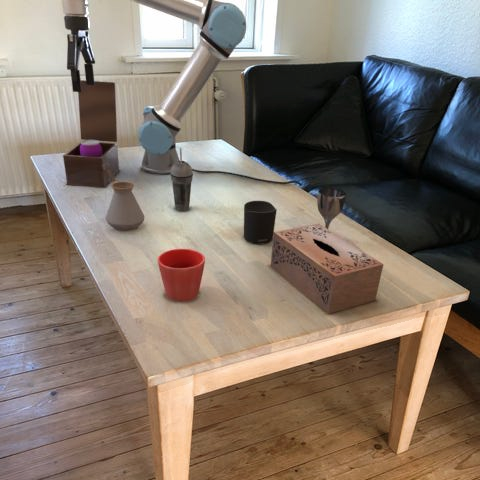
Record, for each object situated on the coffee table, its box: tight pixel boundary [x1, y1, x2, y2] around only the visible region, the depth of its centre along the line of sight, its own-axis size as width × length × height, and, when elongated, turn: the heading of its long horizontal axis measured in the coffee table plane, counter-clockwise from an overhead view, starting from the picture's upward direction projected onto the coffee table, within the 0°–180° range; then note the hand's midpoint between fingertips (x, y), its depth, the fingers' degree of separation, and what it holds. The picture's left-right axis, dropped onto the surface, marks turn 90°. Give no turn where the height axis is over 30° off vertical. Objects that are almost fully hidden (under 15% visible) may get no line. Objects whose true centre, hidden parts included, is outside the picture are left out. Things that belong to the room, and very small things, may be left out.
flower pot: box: [157, 248, 206, 303], centre depth 121 cm, size 11×11×10 cm
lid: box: [77, 79, 118, 143], centre depth 191 cm, size 20×14×7 cm
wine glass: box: [316, 186, 347, 230], centre depth 149 cm, size 8×8×15 cm
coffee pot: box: [102, 163, 145, 232], centre depth 154 cm, size 21×12×15 cm, turn 30°
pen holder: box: [243, 200, 278, 245], centre depth 150 cm, size 9×9×10 cm
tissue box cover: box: [270, 223, 384, 315], centre depth 129 cm, size 26×14×10 cm, turn 29°
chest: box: [62, 140, 120, 188], centre depth 187 cm, size 19×14×10 cm
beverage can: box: [80, 140, 102, 157], centre depth 186 cm, size 8×8×12 cm
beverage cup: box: [169, 147, 194, 212], centre depth 164 cm, size 7×7×20 cm
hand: (84, 88), depth 173 cm, fingers open, 13 cm apart
